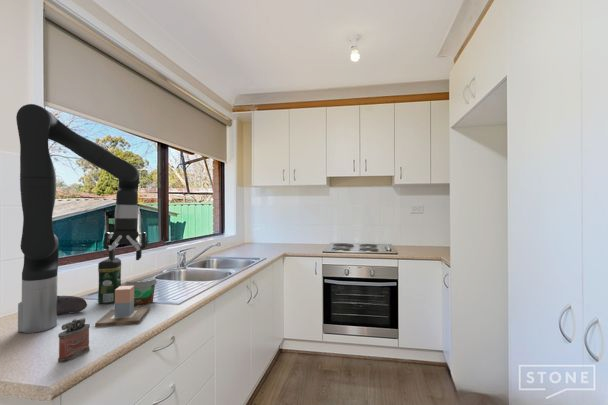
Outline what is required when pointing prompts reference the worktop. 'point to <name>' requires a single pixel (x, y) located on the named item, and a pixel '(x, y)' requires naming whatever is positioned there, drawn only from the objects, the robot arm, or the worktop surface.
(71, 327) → the lighter
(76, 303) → the perforated stone tool
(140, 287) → the food container
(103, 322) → the walnut board
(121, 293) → the terracotta block
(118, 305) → the slate block
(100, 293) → the coffee jar
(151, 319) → the worktop surface
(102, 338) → the worktop surface
